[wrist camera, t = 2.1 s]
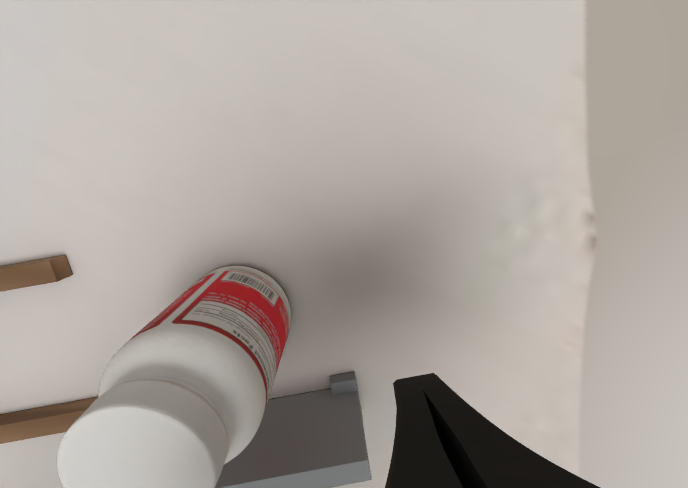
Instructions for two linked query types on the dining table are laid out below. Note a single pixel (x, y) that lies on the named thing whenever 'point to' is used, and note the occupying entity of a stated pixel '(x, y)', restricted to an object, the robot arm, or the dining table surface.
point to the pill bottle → (183, 389)
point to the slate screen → (305, 442)
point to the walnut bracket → (49, 416)
